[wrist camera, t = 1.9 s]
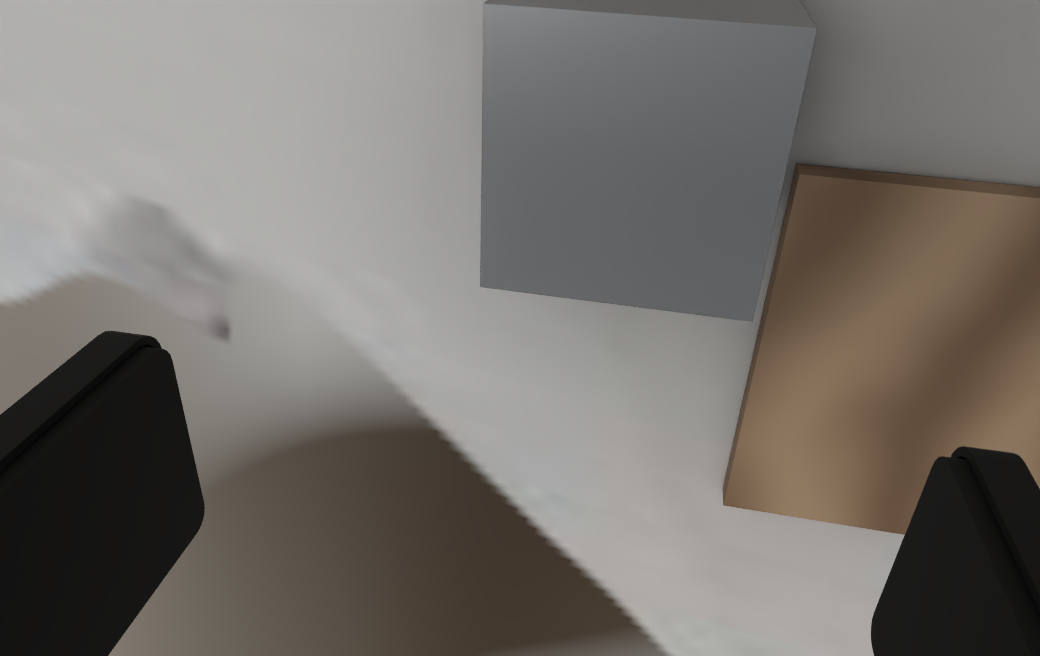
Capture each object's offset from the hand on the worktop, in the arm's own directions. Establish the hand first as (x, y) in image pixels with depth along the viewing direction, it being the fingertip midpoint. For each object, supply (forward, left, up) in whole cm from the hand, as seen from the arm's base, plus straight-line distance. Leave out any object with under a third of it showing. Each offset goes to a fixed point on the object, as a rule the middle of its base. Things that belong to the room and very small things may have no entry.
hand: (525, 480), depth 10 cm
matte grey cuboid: (0, 0, -19) cm, 19 cm away
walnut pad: (-12, +9, -19) cm, 24 cm away
